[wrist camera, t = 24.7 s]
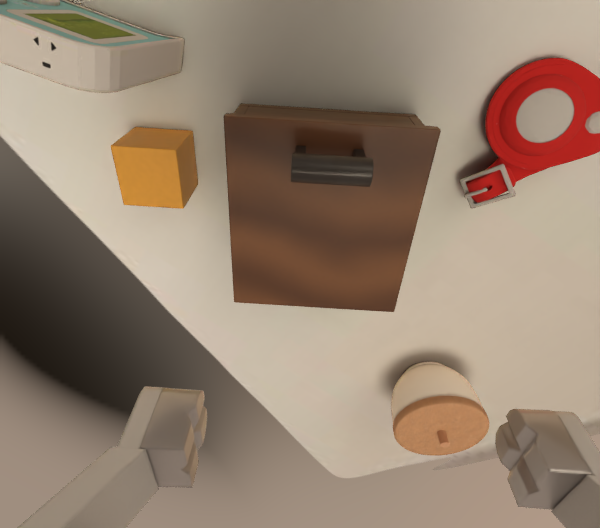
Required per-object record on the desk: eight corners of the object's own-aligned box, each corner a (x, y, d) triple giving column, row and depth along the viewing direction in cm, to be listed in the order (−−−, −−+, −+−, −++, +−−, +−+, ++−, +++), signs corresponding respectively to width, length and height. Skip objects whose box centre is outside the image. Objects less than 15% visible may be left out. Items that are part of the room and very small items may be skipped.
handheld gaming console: (-6, -35, 29) (186, 35, 30) (0, 8, 31) (181, 74, 31) (-183, -57, 20) (99, 45, 20) (-163, 6, 21) (99, 100, 22)
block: (134, 126, 34) (110, 145, 30) (192, 130, 34) (175, 149, 30) (145, 180, 37) (123, 205, 32) (198, 184, 37) (183, 208, 32)
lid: (225, 112, 27) (209, 135, 23) (438, 126, 27) (460, 150, 23) (235, 296, 36) (225, 336, 32) (392, 306, 36) (402, 346, 32)
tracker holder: (502, 47, 28) (657, 63, 27) (490, 56, 32) (624, 71, 31) (456, 209, 33) (585, 232, 31) (450, 200, 37) (565, 220, 35)
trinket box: (485, 371, 50) (516, 439, 43) (425, 411, 56) (443, 478, 48) (425, 336, 47) (446, 404, 39) (367, 382, 52) (376, 449, 45)
